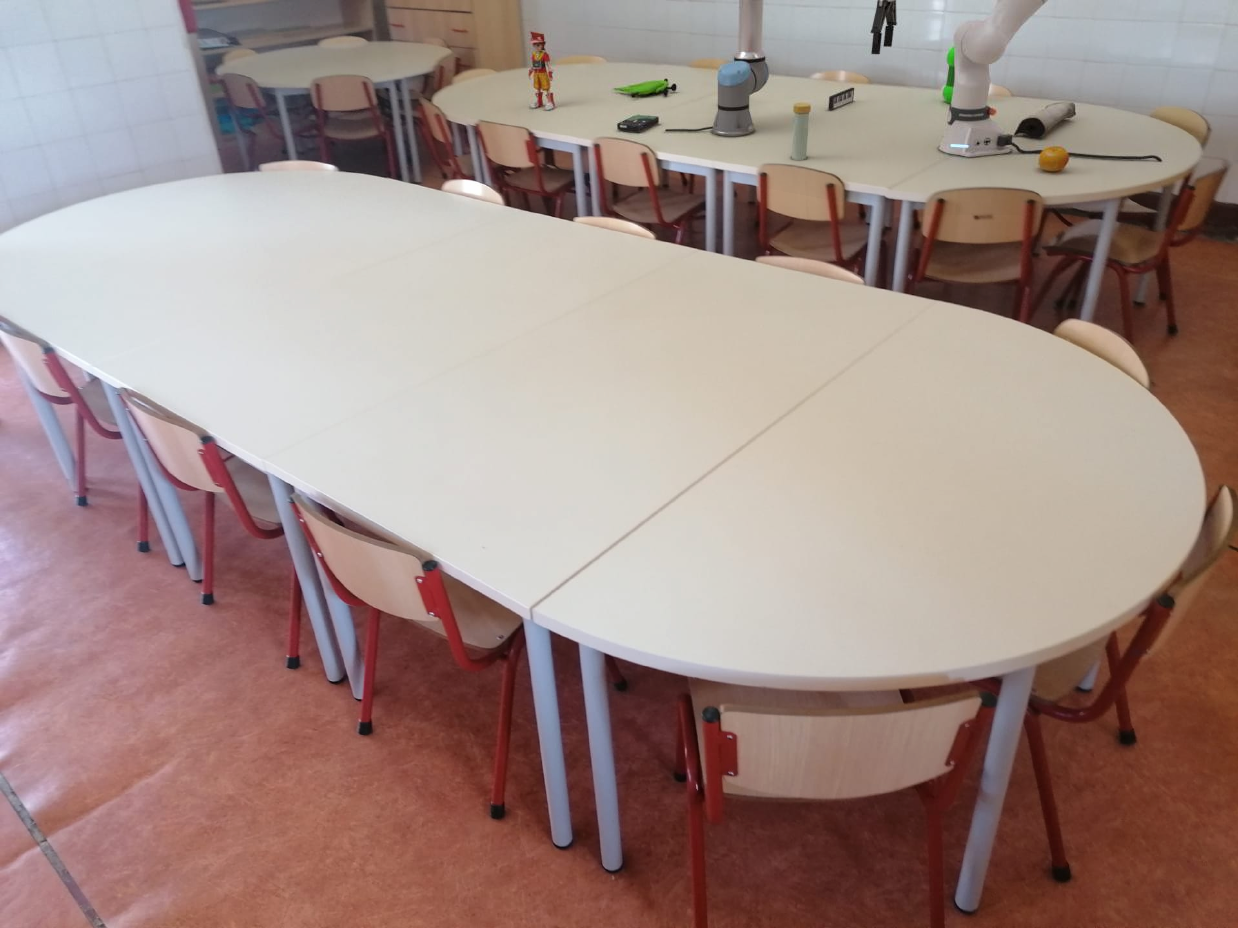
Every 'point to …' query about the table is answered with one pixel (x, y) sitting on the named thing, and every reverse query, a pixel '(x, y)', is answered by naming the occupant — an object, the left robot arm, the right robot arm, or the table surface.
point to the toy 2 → (648, 88)
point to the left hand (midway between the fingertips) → (881, 50)
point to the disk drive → (638, 123)
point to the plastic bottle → (950, 76)
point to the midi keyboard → (841, 98)
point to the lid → (802, 107)
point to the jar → (800, 136)
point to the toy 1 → (541, 71)
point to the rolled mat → (1045, 119)
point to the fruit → (1053, 158)
